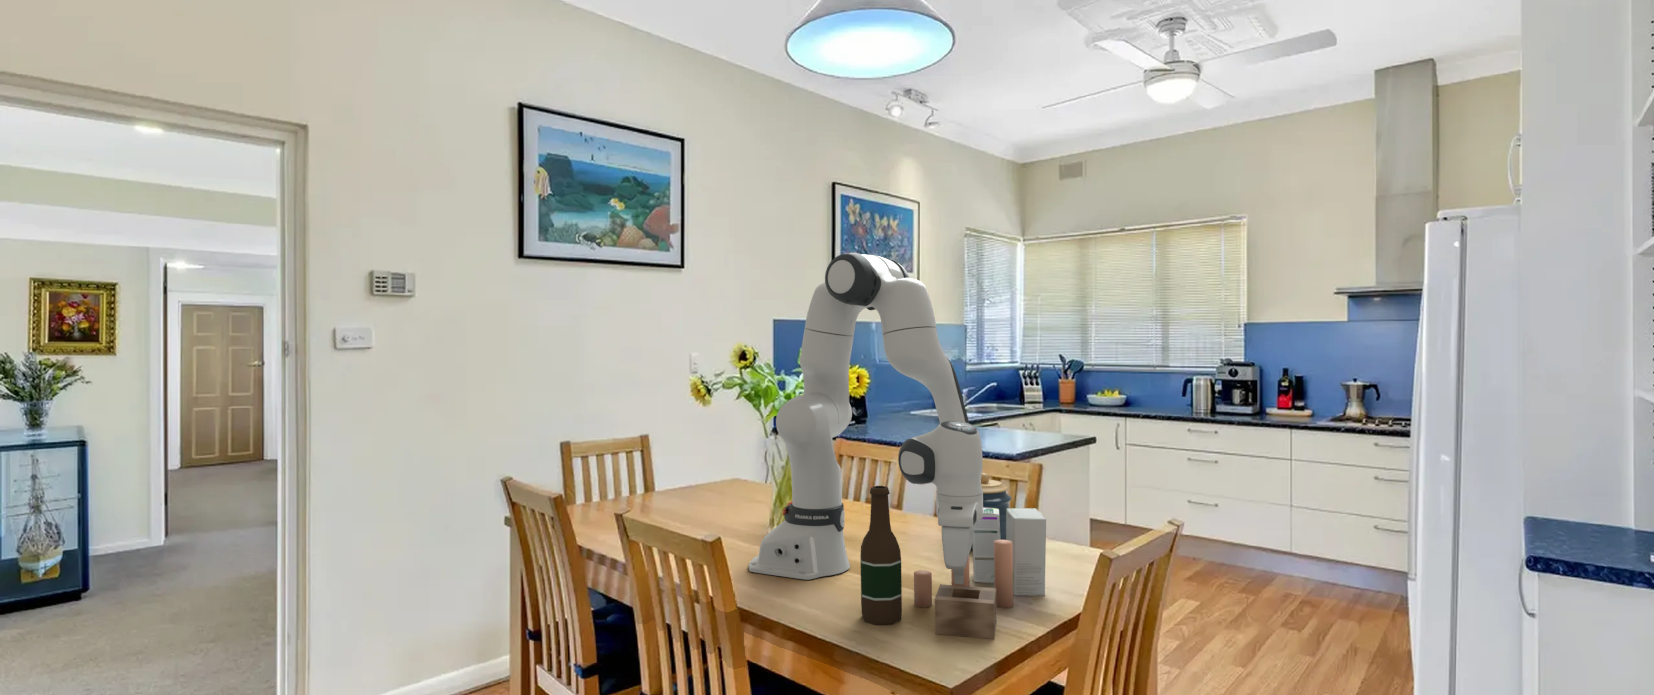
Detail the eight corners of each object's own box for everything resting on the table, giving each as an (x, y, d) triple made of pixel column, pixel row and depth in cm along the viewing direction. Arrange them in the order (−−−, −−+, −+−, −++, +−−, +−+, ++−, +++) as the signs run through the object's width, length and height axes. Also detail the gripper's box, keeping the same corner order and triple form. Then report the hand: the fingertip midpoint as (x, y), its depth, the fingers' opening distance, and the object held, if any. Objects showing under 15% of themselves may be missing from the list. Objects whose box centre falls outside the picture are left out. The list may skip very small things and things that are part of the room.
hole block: (935, 633, 131) (934, 599, 131) (940, 617, 139) (940, 584, 139) (994, 639, 129) (993, 603, 129) (996, 621, 136) (996, 588, 136)
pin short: (913, 606, 145) (912, 575, 144) (915, 600, 148) (915, 569, 148) (930, 608, 144) (930, 576, 144) (933, 601, 147) (932, 571, 147)
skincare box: (1005, 582, 158) (1004, 507, 157) (1037, 582, 157) (1036, 507, 157) (1014, 596, 149) (1013, 517, 149) (1047, 596, 149) (1047, 517, 149)
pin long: (994, 607, 144) (993, 544, 143) (995, 601, 147) (994, 539, 147) (1012, 608, 143) (1012, 545, 142) (1013, 602, 146) (1012, 540, 146)
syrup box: (1001, 583, 157) (1000, 513, 157) (972, 582, 158) (971, 512, 158) (1001, 575, 163) (1000, 507, 162) (972, 574, 164) (972, 506, 163)
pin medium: (950, 605, 145) (950, 558, 145) (952, 599, 148) (952, 553, 148) (969, 607, 144) (968, 559, 144) (970, 600, 147) (969, 554, 147)
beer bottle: (872, 629, 134) (870, 493, 134) (853, 614, 141) (851, 485, 141) (910, 621, 137) (908, 488, 137) (890, 607, 144) (888, 481, 144)
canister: (978, 535, 195) (978, 466, 195) (1022, 545, 186) (1021, 472, 185) (946, 545, 186) (946, 473, 186) (991, 556, 177) (990, 480, 176)
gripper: (948, 495, 156) (949, 562, 157) (936, 518, 137) (937, 595, 137) (980, 496, 155) (980, 564, 155) (972, 520, 135) (973, 598, 135)
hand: (960, 579), depth 146 cm, fingers closed on pin medium, 3 cm apart
